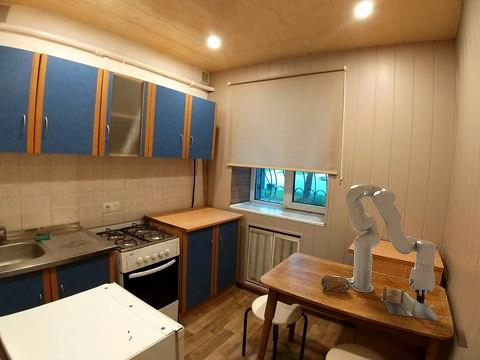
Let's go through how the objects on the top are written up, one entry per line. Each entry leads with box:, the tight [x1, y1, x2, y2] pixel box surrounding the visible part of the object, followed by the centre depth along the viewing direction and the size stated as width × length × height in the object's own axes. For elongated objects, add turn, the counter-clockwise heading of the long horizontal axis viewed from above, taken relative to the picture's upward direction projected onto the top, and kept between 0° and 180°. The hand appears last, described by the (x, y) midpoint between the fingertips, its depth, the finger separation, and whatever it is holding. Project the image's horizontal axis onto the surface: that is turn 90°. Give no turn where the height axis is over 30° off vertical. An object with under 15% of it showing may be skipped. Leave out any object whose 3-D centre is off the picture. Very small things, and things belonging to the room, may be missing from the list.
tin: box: [320, 274, 351, 294], centre depth 151 cm, size 15×3×8 cm, turn 69°
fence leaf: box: [403, 291, 416, 315], centre depth 132 cm, size 10×1×6 cm, turn 172°
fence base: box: [380, 287, 440, 322], centre depth 136 cm, size 22×19×7 cm
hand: (420, 301), depth 132 cm, fingers closed
